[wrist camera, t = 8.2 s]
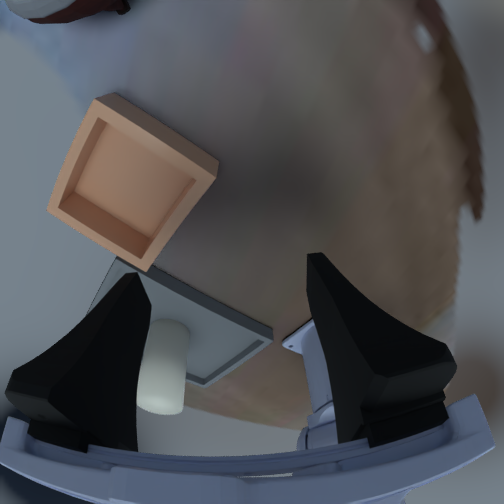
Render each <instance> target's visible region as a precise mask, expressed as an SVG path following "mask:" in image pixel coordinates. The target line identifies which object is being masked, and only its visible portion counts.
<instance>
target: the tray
mask: <svg viewBox="0 0 504 504" xmlns="http://www.w3.org/2000/svg"><path fill="white" fill-rule="evenodd" d="M132 272H138V274H139V276H140V279H141V281H142V284H143V286H144V288H145V291H146V293H147V295H148V298H149V300H150V302H151V304H152V310H151V319H150V326H151V324H152V323H153V322H154V321H156V320H159V319H172V320H175V321H178V322H180V323H182V324H183V325H185V326H186V327H187V328H188V330H189V332H190V338H189V348H188V357H187V367H186V378H185V381H186V382H189V383H192V384H194V385H197V386H200V387H203V388H207V387H208V386H210V385H211V384H213V383H214V382H216V381H217V380H219V379H220V378H222V377H223V376H225V375H226V374H228V373H229V372H231V371H232V370H234V369H235V368H237V367H238V366H240V365H241V364H242V363H244V362H245V361H247V360H248V359H250V358H251V357H252V356H254V355H255V354H257V353H258V352H259V351H261V350H262V349H264V348H265V347H266V346H268V345H269V344H270V343H272V342H273V341H274V340H273V332H272V329H271V328H269V327H267V326H265V325H263V324H261V323H259V322H257V321H255V320H253V319H251V318H249V317H247V316H245V315H243V314H241V313H239V312H237V311H235V310H233V309H231V308H229V307H227V306H225V305H223V304H221V303H219V302H218V301H216V300H214V299H212V298H210V297H208V296H206V295H204V294H203V293H201V292H199V291H197V290H195V289H193V288H191V287H190V286H188V285H186V284H184V283H182V282H181V281H179V280H177V279H175V278H173V277H172V276H170V275H168V274H166V273H164V272H163V271H161V270H159V269H157V268H156V267H154V266H152V265H151V266H150V267H149V269H148V270H147V272H145V271H143V270H141V269H139V268H138V267H136V266H134V265H133V264H131V263H129V262H127V261H126V260H124V259H122V258H121V257H119V256H117V257H116V258H115V260H114V262H113V264H112V266H111V268H110V270H109V271H108V273H107V275H106V277H105V279H104V281H103V282H102V284H101V286H100V288H99V290H98V292H97V294H96V296H95V298H94V300H93V302H92V304H91V306H90V308H89V310H88V312H87V314H88V313H89V312H90V311H91V310H92V309H93V308H94V307H95V306H96V305H97V304H98V303H99V301H100V300H101V299H102V298H103V297H104V296H105V295H106V294H107V292H108V291H109V290H110V289H111V288H112V287H113V286H114V285H115V283H116V282H117V281H118V280H119V279H120V278H121V277H122V276H123V275H124V274H125V273H132ZM87 314H86V315H87ZM149 329H150V327H149ZM148 333H149V331H148ZM147 338H148V335H147ZM146 342H147V339H146ZM145 347H146V344H145ZM144 351H145V348H144ZM143 356H144V352H143ZM143 356H142V361H143ZM142 361H141V363H142Z"/></svg>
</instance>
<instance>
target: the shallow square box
mask: <svg viewBox="0 0 504 504" xmlns="http://www.w3.org/2000/svg"><path fill="white" fill-rule="evenodd" d="M218 166H219V161H218V160H217V159H215V158H214V157H212V156H211V155H209V154H208V153H206V152H205V151H204V150H202V149H201V148H199V147H198V146H196V145H195V144H193V143H192V142H190V141H189V140H187V139H186V138H184V137H183V136H181V135H180V134H178V133H177V132H175V131H174V130H172V129H171V128H169V127H168V126H166V125H165V124H163V123H162V122H160V121H159V120H157V119H155V118H154V117H152V116H151V115H149V114H148V113H146V112H144V111H143V110H141V109H140V108H138V107H137V106H135V105H133V104H132V103H130V102H129V101H127V100H125V99H124V98H122V97H120V96H119V95H117V94H116V93H111V94H107V95H104V96H101V97H98V98H95V99H94V100H93V102H92V104H91V105H90V107H89V109H88V111H87V113H86V115H85V117H84V119H83V121H82V123H81V125H80V127H79V129H78V131H77V133H76V136H75V138H74V140H73V142H72V144H71V147H70V149H69V151H68V154H67V156H66V158H65V161H64V164H63V166H62V168H61V171H60V174H59V176H58V179H57V181H56V184H55V187H54V190H53V193H52V195H51V198H50V201H49V204H48V207H47V211H48V212H49V213H51V214H52V215H54V216H56V217H57V218H58V219H60V220H61V221H63V222H64V223H66V224H67V225H69V226H70V227H72V228H74V229H75V230H77V231H78V232H80V233H81V234H83V235H85V236H86V237H88V238H89V239H91V240H93V241H94V242H96V243H97V244H99V245H101V246H103V247H104V248H106V249H107V250H109V251H111V252H112V253H114V254H116V255H117V256H119V257H121V258H122V259H124V260H126V261H127V262H129V263H131V264H133V265H134V266H136V267H138V268H139V269H141V270H143V271H145V272H147V270H148V269H149V267H150V266H151V264H152V263H153V262H154V260H155V259H156V257H157V256H158V254H159V253H160V252H161V250H162V249H163V248H164V246H165V245H166V243H167V242H168V241H169V239H170V238H171V236H172V235H173V234H174V232H175V231H176V230H177V228H178V227H179V226H180V224H181V223H182V222H183V220H184V219H185V218H186V216H187V215H188V214H189V212H190V211H191V210H192V208H193V207H194V206H195V205H196V203H197V202H198V201H199V199H200V198H201V197H202V196H203V194H204V193H205V192H206V190H207V189H208V188H209V187H210V185H211V184H212V183H213V182H214V180H215V179H216V178H217V172H218Z"/></svg>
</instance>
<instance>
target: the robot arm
mask: <svg viewBox="0 0 504 504" xmlns="http://www.w3.org/2000/svg"><path fill="white" fill-rule="evenodd" d="M306 291H307V296H308V302H309V307H310V312H311V315H312V318H313V319H312V320H311V321H309V322H308V323H307V324H305V325H304V326H303V327H301V328H300V329H299V330H297V331H296V332H295V333H293V334H292V335H291V336H289V337H288V338H287V339H285V340H284V341H283V342H282V344H283V346H284V347H285V348H288V349H290V350H292V351H294V352H297V353H299V354H301V355H303V360H304V365H305V371H306V376H307V382H308V387H309V393H310V398H311V404H312V410H313V414H312V415H309V416H307V420H308V426H307V427H305V428H303V429H302V431H301V433H300V436H299V438H298V441H297V451H293V452H285V453H275V454H264V455H249V456H226V457H225V456H223V457H222V456H221V457H204V456H203V457H202V456H200V457H199V456H176V455H161V454H150V453H141V452H138V444H137V429H136V405H137V387H138V376H139V370H140V365H141V361H142V356H143V352H144V348H145V344H146V339H147V335H148V331H149V327H150V319H151V310H152V304H151V302H150V300H149V298H148V295H147V293H146V291H145V288H144V286H143V284H142V281H141V279H140V276H139V274H138V272H132V273H125V274H124V275H123V276H122V277H121V278H120V279H119V280H118V281H117V282H116V283H115V285H114V286H113V287H112V288H111V289H110V290H109V291H108V292H107V294H106V295H105V296H104V297H103V298H102V299H101V300H100V301H99V303H98V304H97V305H96V306H95V307H94V308H93V309H92V310H91V311H90V312H89V313H88V314H87V315H86V316H85V318H84V319H83V320H82V321H81V322H80V323H79V324H77V325H76V326H75V327H74V328H73V329H72V330H71V331H70V332H69V333H68V334H67V335H66V336H64V337H63V338H62V339H60V340H59V341H58V342H57V343H56V344H54V345H53V346H52V347H50V348H49V349H48V350H46V351H45V352H43V353H42V354H40V355H39V356H37V357H36V358H34V359H33V360H31V361H29V362H28V363H26V364H24V365H22V366H20V367H19V368H17V369H15V370H13V372H12V375H11V378H10V380H9V383H8V385H7V388H6V391H5V395H6V397H7V398H8V400H9V401H10V402H11V403H12V404H13V405H14V406H15V407H17V408H18V409H19V410H20V411H21V412H23V413H24V414H25V415H26V416H28V417H29V418H30V419H31V421H30V424H28V423H26V422H24V421H21V420H19V419H16V418H13V417H8V419H7V423H6V426H5V429H4V433H3V436H2V440H1V444H0V463H1V464H2V465H4V466H6V467H8V468H9V469H11V470H13V471H15V472H17V473H19V474H21V475H23V476H25V477H27V478H29V479H31V480H33V481H35V482H38V483H40V484H42V485H45V486H47V487H50V488H52V489H55V490H57V491H60V492H63V493H66V494H68V495H71V496H74V497H77V498H80V499H83V500H86V501H89V502H93V503H97V504H406V503H405V500H404V497H405V496H406V495H407V493H408V492H409V491H410V490H412V489H415V488H417V487H419V486H422V485H425V484H427V483H429V482H432V481H434V480H436V479H439V478H441V477H443V476H445V475H447V474H449V473H452V472H454V471H456V470H458V469H460V468H462V467H463V466H465V465H467V464H469V463H471V462H472V461H474V460H476V459H477V458H479V457H481V456H482V455H484V454H486V453H487V452H489V451H490V450H492V449H493V448H494V447H495V442H494V440H493V437H492V434H491V431H490V429H489V426H488V423H487V421H486V418H485V416H484V413H483V411H482V408H481V406H480V403H479V401H478V399H477V396H476V394H472V395H470V396H467V397H465V398H463V399H461V400H458V401H456V402H454V403H452V404H450V405H448V406H447V407H446V408H445V405H444V403H443V401H444V400H445V398H446V396H445V394H444V391H443V389H444V388H445V387H446V385H447V384H448V383H449V381H450V380H451V379H452V378H453V376H454V374H455V372H456V369H457V365H456V363H455V360H454V358H453V356H452V354H451V352H450V350H449V349H448V347H447V345H446V344H445V343H443V342H440V341H438V340H436V339H433V338H431V337H429V336H426V335H424V334H422V333H420V332H418V331H416V330H414V329H412V328H410V327H409V326H407V325H405V324H403V323H402V322H400V321H398V320H397V319H395V318H394V317H392V316H391V315H389V314H388V313H386V312H385V311H383V310H382V309H380V308H379V307H378V306H377V305H375V304H374V303H373V302H371V301H370V300H369V299H368V298H367V297H365V296H364V295H363V294H362V293H361V292H360V291H359V290H358V289H357V288H355V287H354V286H353V285H352V284H351V283H350V282H349V281H348V280H347V279H346V278H345V277H344V276H343V275H342V274H341V273H340V272H339V270H338V269H337V268H336V267H335V266H334V265H333V264H332V263H331V262H330V261H329V259H328V258H327V257H326V256H325V255H324V254H323V253H322V252H319V253H311V254H307V288H306ZM292 472H293V474H292V476H286V477H253V478H252V477H243V476H262V475H274V474H284V473H292Z"/></svg>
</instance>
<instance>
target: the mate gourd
mask: <svg viewBox="0 0 504 504" xmlns="http://www.w3.org/2000/svg"><path fill="white" fill-rule="evenodd" d="M5 2H6V4H7V6H8V8H9V10H10V11H11V12H13V13H15V14H17V15H18V16H20V17H22V18H24V19H28V20H30V21H32V22H34V23H39V24H55V23H69V22H72V21H75V20H78V19H81V18H84V17H88V16H91V15H94V14H96V13H98V12H100V11H102V10H103V11H115V10H116V12H117V13H118V14H119V15H123V14H125V13H126V12H128V11H129V10H130V9H131V8H130V6H129V4H128V2H127V0H5Z"/></svg>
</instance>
